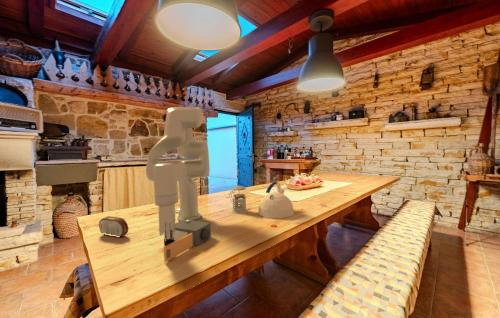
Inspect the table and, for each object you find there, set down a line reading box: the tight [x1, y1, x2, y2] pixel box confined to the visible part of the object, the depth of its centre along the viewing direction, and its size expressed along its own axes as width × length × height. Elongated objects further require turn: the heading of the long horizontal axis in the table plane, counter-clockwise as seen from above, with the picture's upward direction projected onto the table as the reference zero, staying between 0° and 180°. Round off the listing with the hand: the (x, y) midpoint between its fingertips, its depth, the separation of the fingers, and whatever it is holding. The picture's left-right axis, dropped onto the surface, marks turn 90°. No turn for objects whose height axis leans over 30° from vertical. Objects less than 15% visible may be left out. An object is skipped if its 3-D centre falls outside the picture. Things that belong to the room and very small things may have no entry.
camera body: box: [173, 219, 212, 247], centre depth 88 cm, size 15×10×7 cm, turn 66°
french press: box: [228, 169, 249, 215], centre depth 125 cm, size 10×12×25 cm
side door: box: [163, 233, 194, 263], centre depth 75 cm, size 13×1×5 cm, turn 152°
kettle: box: [257, 181, 295, 220], centre depth 120 cm, size 20×21×18 cm
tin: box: [98, 216, 129, 237], centre depth 94 cm, size 15×3×8 cm, turn 71°
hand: (169, 249), depth 74 cm, fingers closed
